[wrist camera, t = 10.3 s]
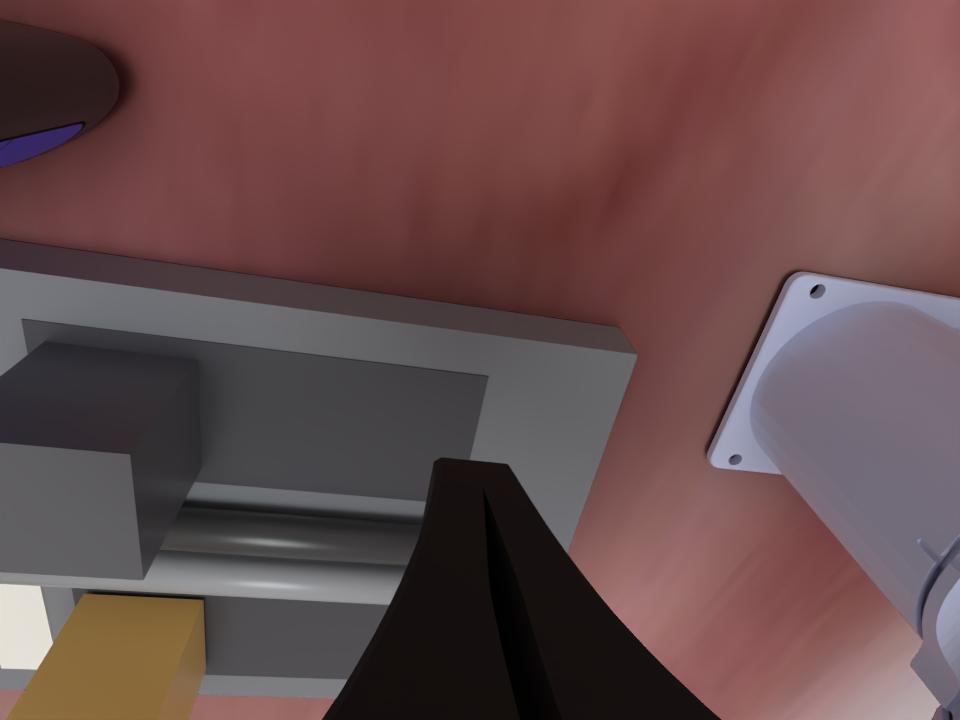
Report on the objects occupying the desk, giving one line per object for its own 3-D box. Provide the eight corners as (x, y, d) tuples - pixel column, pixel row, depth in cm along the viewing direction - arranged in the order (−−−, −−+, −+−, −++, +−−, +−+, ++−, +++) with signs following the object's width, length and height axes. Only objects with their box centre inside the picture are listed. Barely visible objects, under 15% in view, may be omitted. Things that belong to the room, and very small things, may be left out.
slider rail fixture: (619, 327, 20) (698, 441, 14) (508, 662, 28) (530, 819, 22) (-123, 221, 16) (-418, 317, 10) (-2, 641, 24) (-131, 824, 19)
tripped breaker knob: (203, 600, 21) (153, 727, 17) (206, 669, 23) (161, 798, 19) (83, 593, 21) (3, 724, 17) (96, 665, 22) (26, 798, 18)
